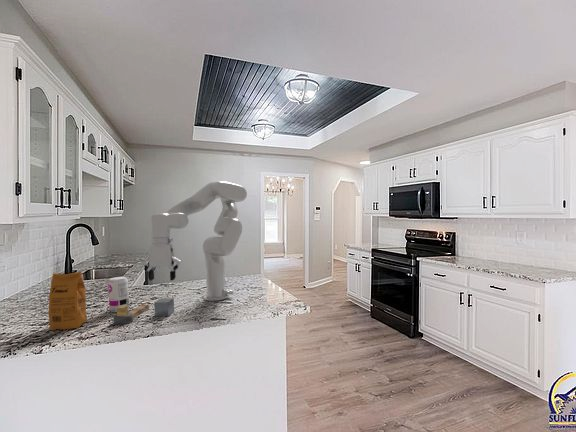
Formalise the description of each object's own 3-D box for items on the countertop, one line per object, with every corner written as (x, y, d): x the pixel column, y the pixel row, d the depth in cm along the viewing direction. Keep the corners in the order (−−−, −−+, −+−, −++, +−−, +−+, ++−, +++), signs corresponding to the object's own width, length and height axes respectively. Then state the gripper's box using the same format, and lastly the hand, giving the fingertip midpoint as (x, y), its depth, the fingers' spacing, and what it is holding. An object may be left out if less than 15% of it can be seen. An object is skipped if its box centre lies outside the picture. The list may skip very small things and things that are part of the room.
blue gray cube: (174, 311, 142) (173, 298, 142) (168, 316, 136) (167, 302, 136) (161, 311, 143) (160, 298, 143) (154, 316, 137) (154, 302, 137)
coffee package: (60, 322, 133) (57, 271, 132) (91, 320, 134) (88, 269, 133) (44, 332, 123) (40, 276, 122) (77, 329, 124) (74, 274, 123)
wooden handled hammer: (138, 308, 148) (137, 295, 148) (152, 308, 147) (151, 294, 147) (109, 325, 127) (109, 309, 127) (126, 325, 127) (125, 309, 127)
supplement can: (109, 313, 142) (107, 281, 142) (110, 309, 149) (108, 277, 149) (129, 310, 146) (127, 278, 145) (129, 306, 153) (127, 275, 153)
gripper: (183, 240, 142) (184, 278, 142) (146, 240, 143) (147, 278, 143) (176, 241, 134) (177, 281, 134) (137, 242, 135) (138, 281, 136)
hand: (162, 279), depth 139 cm, fingers open, 9 cm apart
